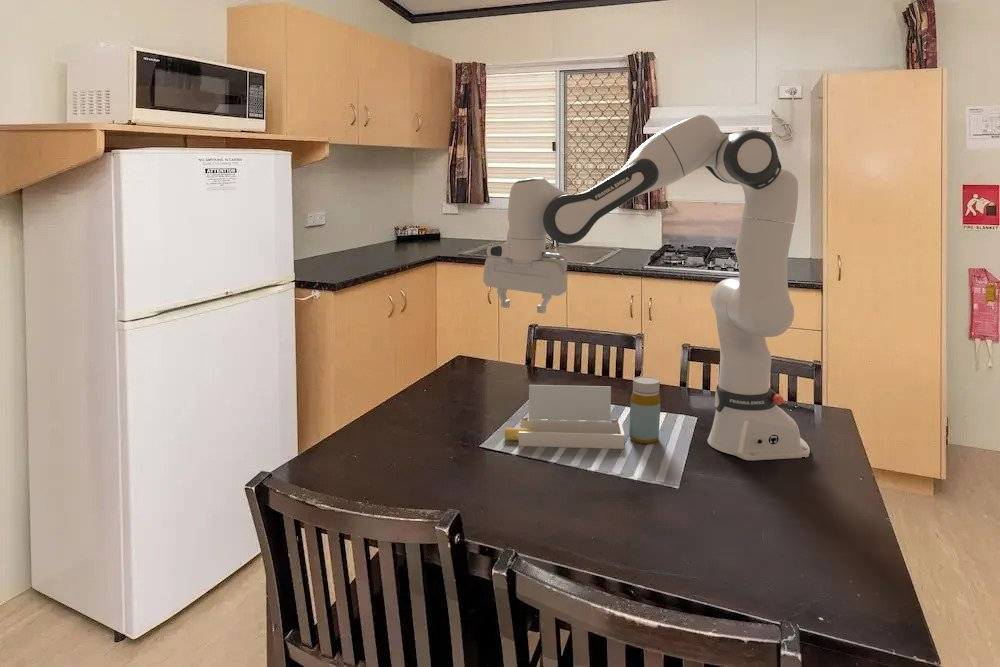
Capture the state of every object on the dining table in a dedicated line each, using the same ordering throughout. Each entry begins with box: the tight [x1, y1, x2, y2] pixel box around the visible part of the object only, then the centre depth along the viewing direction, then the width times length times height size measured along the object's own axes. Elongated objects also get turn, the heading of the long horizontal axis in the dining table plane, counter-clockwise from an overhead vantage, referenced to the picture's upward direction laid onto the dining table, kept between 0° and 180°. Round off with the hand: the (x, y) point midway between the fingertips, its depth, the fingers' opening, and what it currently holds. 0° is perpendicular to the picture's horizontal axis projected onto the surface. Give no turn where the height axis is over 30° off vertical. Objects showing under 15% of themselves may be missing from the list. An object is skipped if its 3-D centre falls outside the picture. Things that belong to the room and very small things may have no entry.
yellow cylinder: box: [504, 427, 534, 442], centre depth 170 cm, size 7×3×3 cm, turn 85°
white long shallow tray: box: [518, 416, 625, 450], centre depth 169 cm, size 25×9×4 cm, turn 85°
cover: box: [528, 384, 612, 422], centre depth 173 cm, size 20×8×1 cm
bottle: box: [628, 375, 662, 445], centre depth 168 cm, size 7×7×15 cm
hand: (523, 310), depth 162 cm, fingers open, 8 cm apart
